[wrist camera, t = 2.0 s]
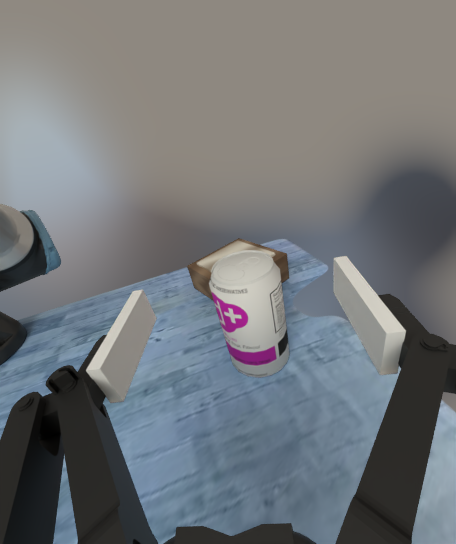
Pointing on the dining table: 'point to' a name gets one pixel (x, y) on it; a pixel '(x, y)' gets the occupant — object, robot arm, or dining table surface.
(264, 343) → the supplement can
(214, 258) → the walnut pedestal
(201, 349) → the dining table surface
